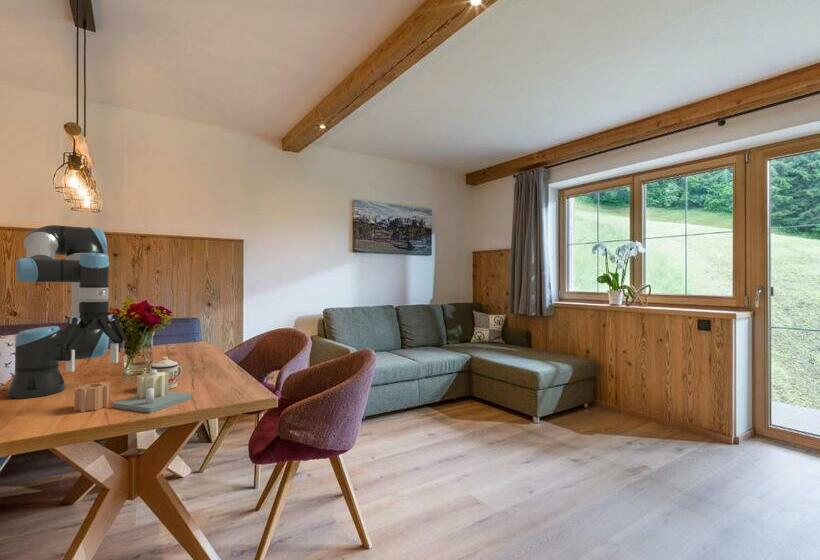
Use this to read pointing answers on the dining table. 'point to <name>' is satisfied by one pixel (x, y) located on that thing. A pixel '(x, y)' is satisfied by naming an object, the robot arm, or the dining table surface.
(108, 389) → the loose gear
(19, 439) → the dining table surface
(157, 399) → the gear board
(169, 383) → the teacup with lid
